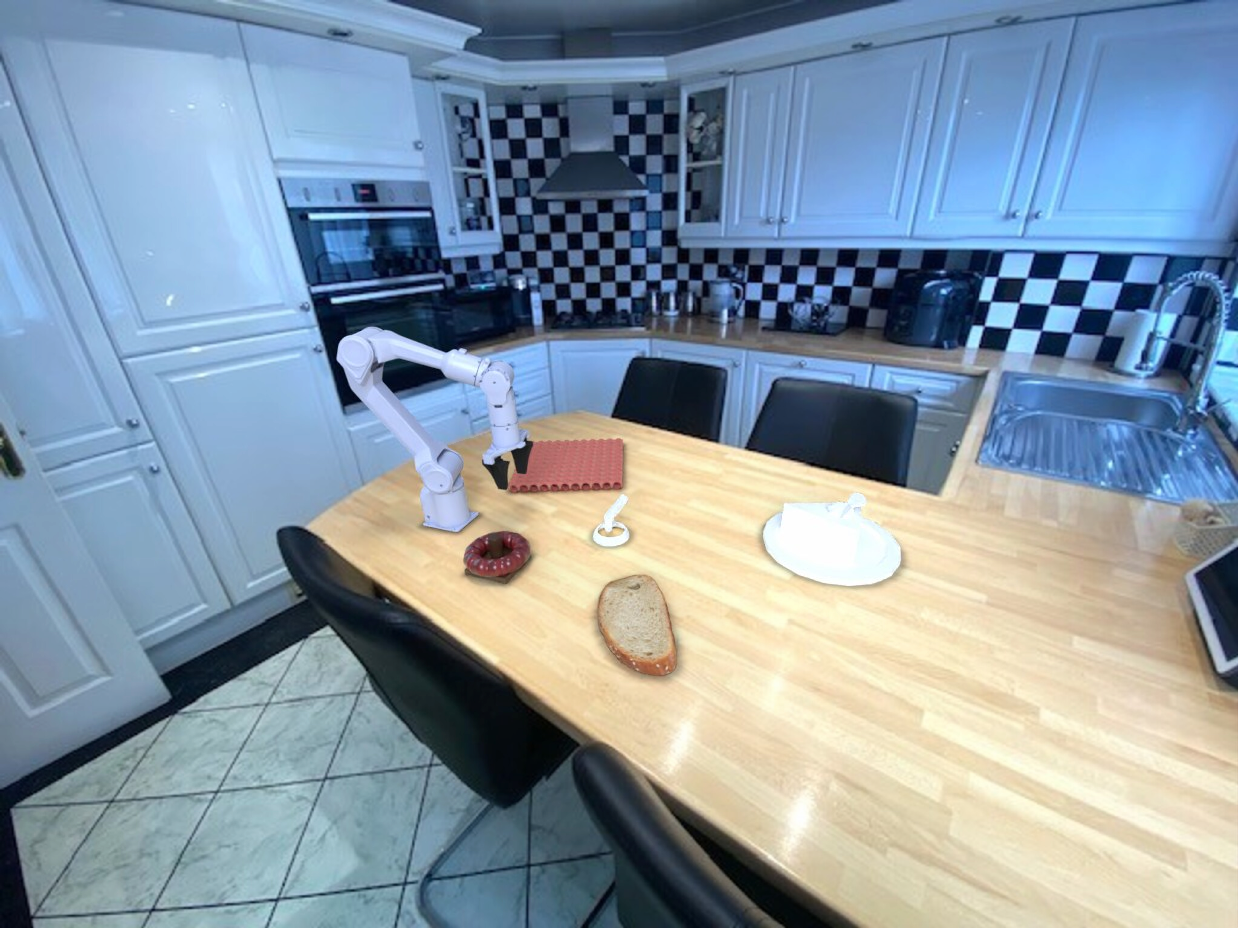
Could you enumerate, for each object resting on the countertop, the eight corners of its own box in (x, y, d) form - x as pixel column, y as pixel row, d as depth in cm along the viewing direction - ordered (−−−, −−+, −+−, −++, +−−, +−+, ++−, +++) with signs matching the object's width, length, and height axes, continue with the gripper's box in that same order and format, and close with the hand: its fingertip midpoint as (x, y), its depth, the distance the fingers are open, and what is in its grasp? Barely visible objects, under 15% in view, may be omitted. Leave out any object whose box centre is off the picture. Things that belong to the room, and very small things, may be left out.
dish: (897, 524, 105) (908, 476, 100) (901, 600, 84) (915, 543, 79) (774, 503, 114) (779, 458, 109) (752, 566, 94) (756, 514, 89)
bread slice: (665, 684, 71) (665, 665, 69) (563, 637, 80) (561, 619, 78) (714, 608, 84) (715, 590, 83) (622, 575, 93) (621, 558, 92)
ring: (451, 572, 94) (448, 558, 93) (490, 537, 105) (487, 523, 103) (508, 586, 90) (505, 571, 89) (542, 547, 100) (541, 534, 99)
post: (465, 574, 95) (459, 545, 93) (492, 548, 103) (487, 520, 100) (506, 584, 92) (501, 554, 89) (531, 556, 100) (527, 527, 97)
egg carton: (622, 489, 123) (622, 482, 123) (508, 492, 124) (507, 485, 123) (623, 444, 149) (622, 438, 148) (528, 447, 150) (527, 441, 149)
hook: (653, 523, 99) (624, 511, 96) (619, 560, 105) (590, 550, 102) (647, 498, 105) (620, 486, 102) (615, 534, 111) (588, 523, 108)
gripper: (500, 436, 96) (510, 499, 102) (538, 412, 108) (545, 469, 114) (469, 433, 99) (480, 494, 104) (510, 409, 111) (518, 465, 116)
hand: (512, 480), depth 109 cm, fingers open, 7 cm apart
